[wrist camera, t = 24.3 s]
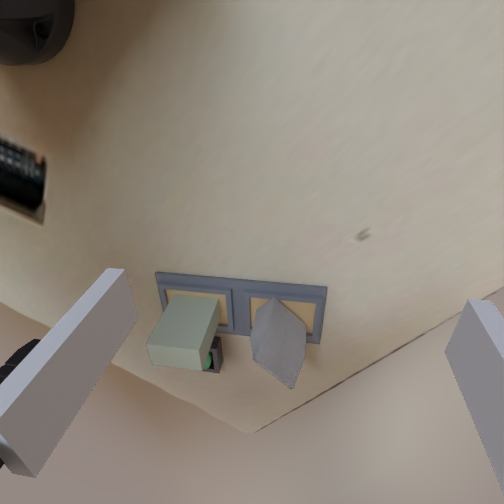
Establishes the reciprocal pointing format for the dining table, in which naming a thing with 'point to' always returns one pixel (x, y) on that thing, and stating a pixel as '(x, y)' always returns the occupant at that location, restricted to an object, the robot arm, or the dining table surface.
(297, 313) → the grey flat frame
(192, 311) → the carton
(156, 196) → the dining table surface
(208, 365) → the button
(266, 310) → the tea bag
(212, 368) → the button housing
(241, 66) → the dining table surface
